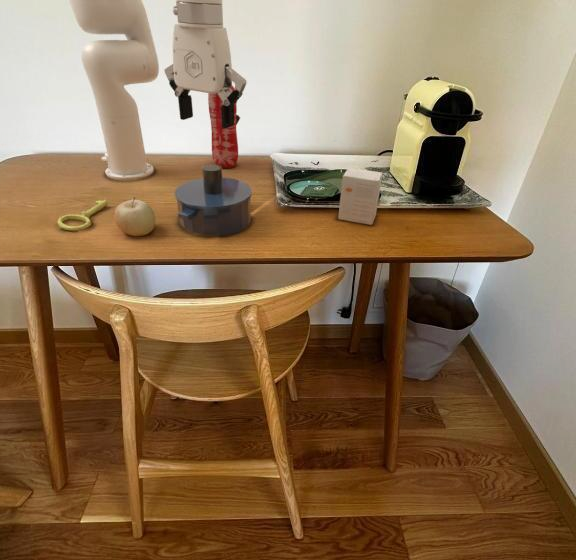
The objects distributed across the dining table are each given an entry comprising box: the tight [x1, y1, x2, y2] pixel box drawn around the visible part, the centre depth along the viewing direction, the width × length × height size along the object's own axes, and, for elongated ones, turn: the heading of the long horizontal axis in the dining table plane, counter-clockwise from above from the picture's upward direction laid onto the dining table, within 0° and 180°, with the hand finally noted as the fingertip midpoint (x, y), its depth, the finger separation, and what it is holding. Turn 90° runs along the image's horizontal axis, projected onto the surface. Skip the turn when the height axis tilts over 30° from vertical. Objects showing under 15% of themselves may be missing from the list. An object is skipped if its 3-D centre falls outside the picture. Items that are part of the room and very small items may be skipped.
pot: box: [176, 198, 252, 238], centre depth 86 cm, size 15×21×6 cm
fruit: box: [113, 196, 156, 237], centre depth 80 cm, size 8×7×8 cm
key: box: [57, 199, 109, 232], centre depth 86 cm, size 7×12×2 cm, turn 177°
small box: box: [337, 167, 383, 226], centre depth 89 cm, size 8×6×10 cm
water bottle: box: [207, 85, 241, 169], centre depth 112 cm, size 12×8×25 cm, turn 167°
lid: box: [173, 164, 253, 209], centre depth 83 cm, size 16×16×6 cm
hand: (207, 122), depth 77 cm, fingers open, 9 cm apart
